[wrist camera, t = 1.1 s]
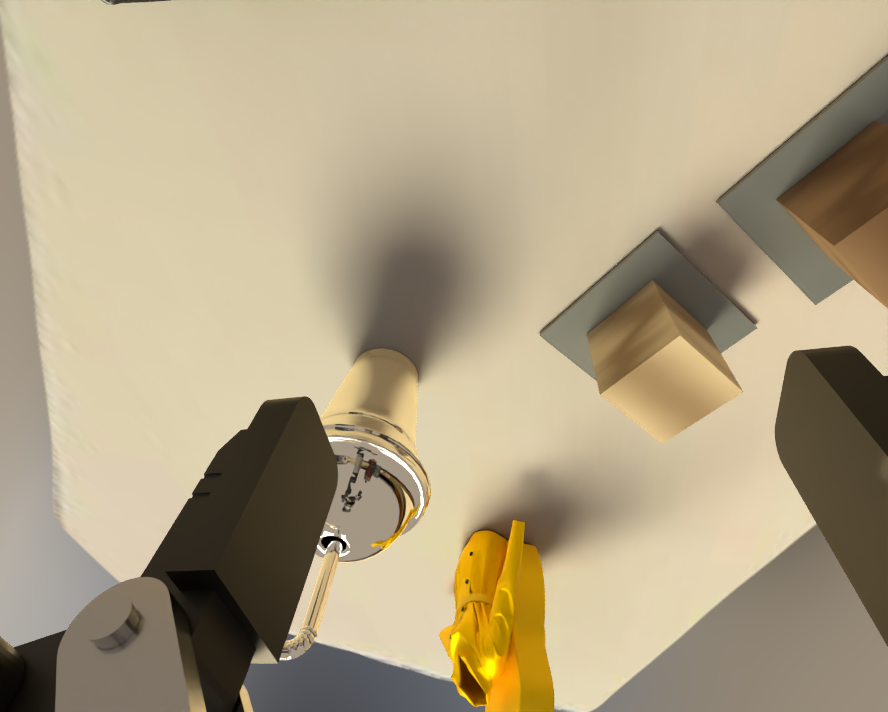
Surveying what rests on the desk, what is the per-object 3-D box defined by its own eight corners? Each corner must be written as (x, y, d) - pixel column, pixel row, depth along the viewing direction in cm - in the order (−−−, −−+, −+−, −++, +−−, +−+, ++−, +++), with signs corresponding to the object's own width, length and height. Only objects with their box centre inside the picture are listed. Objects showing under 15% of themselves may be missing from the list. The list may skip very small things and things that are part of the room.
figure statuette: (494, 476, 42) (485, 852, 24) (587, 505, 43) (648, 889, 25) (425, 596, 52) (382, 924, 34) (502, 617, 53) (500, 949, 35)
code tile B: (656, 230, 30) (658, 232, 30) (755, 325, 33) (757, 328, 32) (539, 333, 34) (539, 335, 34) (634, 409, 37) (635, 412, 37)
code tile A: (891, 51, 24) (896, 52, 24) (987, 184, 27) (992, 186, 27) (716, 201, 29) (718, 203, 28) (813, 302, 31) (815, 305, 31)
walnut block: (874, 120, 26) (962, 153, 21) (928, 190, 27) (1022, 236, 22) (776, 199, 28) (834, 245, 23) (830, 259, 30) (895, 315, 25)
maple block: (652, 279, 31) (680, 335, 26) (707, 330, 33) (743, 391, 28) (586, 334, 34) (600, 394, 29) (640, 378, 35) (661, 443, 30)
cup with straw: (396, 440, 41) (322, 750, 24) (294, 372, 38) (132, 670, 21) (473, 374, 37) (446, 694, 20) (365, 292, 34) (232, 585, 17)
